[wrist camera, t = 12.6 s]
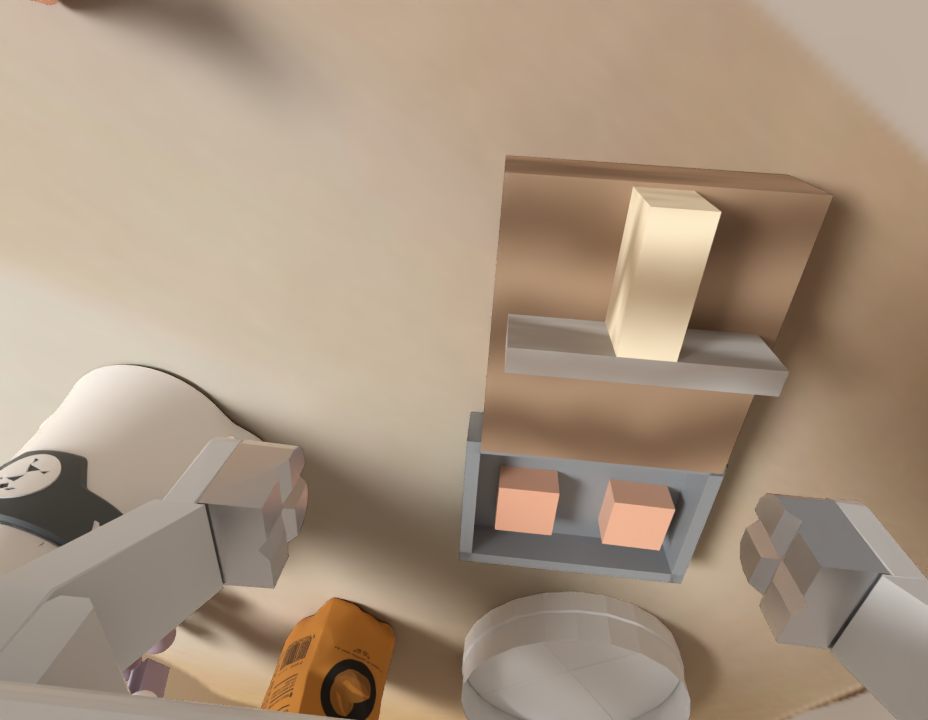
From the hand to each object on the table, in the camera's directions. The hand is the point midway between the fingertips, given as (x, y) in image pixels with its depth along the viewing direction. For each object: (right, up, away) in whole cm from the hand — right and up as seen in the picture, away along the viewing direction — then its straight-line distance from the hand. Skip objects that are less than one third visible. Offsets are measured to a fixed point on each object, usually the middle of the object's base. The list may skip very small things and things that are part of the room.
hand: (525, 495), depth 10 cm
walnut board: (+9, +6, +25) cm, 28 cm away
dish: (+10, -29, +46) cm, 55 cm away
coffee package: (-14, -27, +47) cm, 56 cm away
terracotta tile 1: (+12, -10, +31) cm, 35 cm away
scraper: (+9, +7, +19) cm, 22 cm away
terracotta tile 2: (+4, -9, +31) cm, 33 cm away
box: (+8, -8, +33) cm, 35 cm away
